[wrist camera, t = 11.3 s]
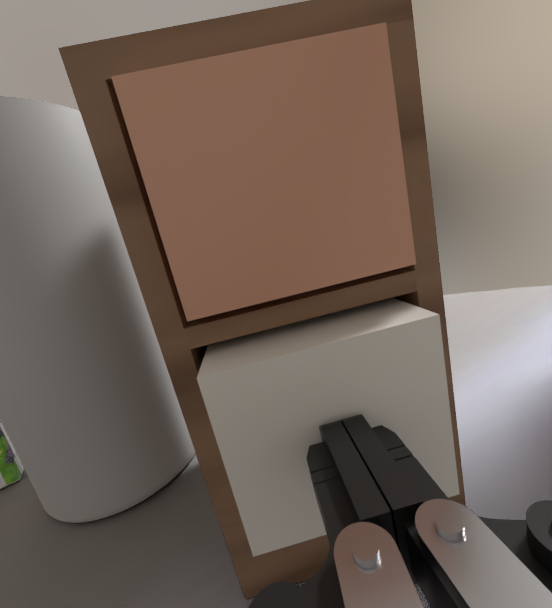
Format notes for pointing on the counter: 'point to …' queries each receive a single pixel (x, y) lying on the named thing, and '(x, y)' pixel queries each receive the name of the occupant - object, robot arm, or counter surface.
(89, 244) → the cylinder vase
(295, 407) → the light grey drawer
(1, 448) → the syrup box
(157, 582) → the counter surface
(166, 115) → the salmon pink block
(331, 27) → the wooden drawer cabinet
